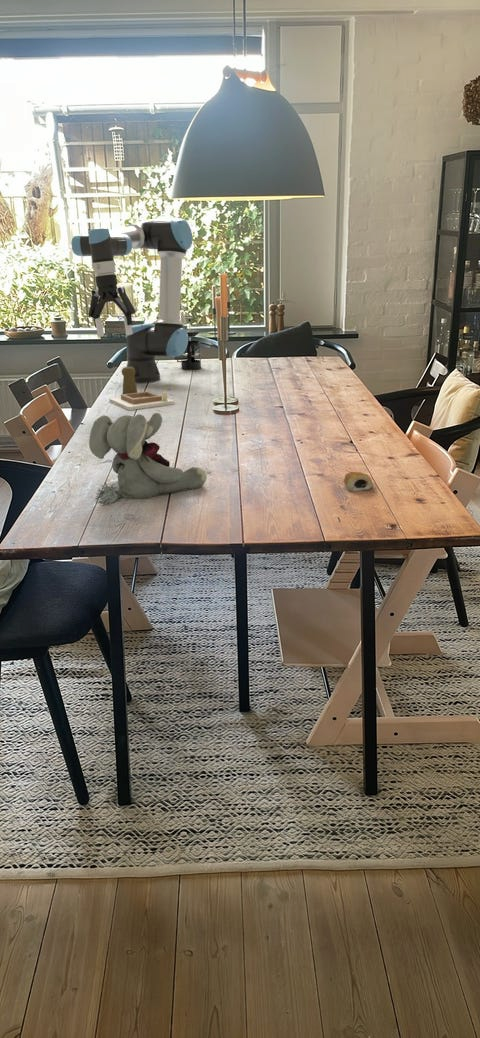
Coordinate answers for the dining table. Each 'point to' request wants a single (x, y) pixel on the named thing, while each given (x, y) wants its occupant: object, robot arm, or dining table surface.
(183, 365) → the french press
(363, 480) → the pastry
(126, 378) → the cork
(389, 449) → the dining table surface
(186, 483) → the plush elephant
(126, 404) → the seat board
